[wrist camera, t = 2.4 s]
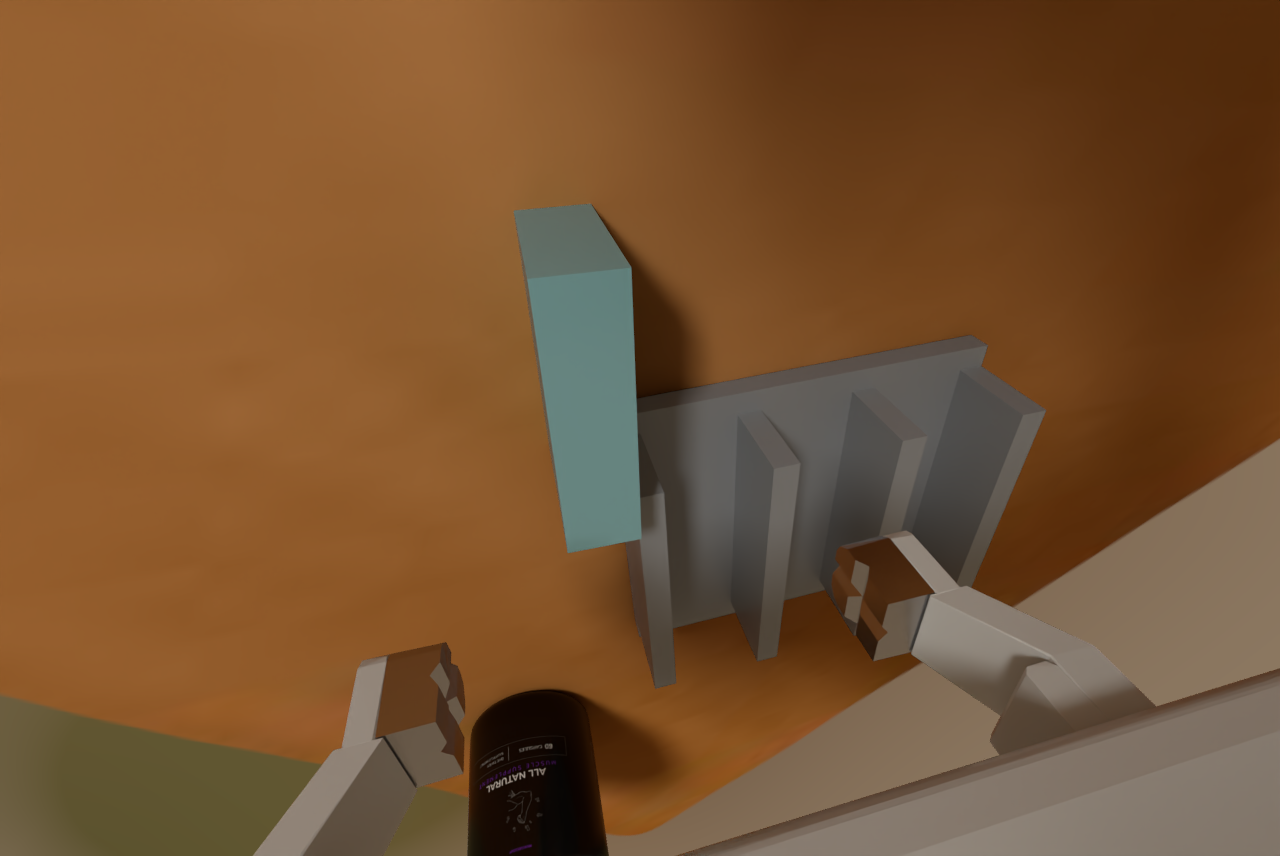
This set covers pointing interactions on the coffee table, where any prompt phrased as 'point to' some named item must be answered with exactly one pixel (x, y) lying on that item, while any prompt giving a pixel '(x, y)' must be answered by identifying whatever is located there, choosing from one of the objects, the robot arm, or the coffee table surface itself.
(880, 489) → the rack
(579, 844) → the supplement bottle
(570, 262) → the teal upright panel
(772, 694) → the coffee table surface
